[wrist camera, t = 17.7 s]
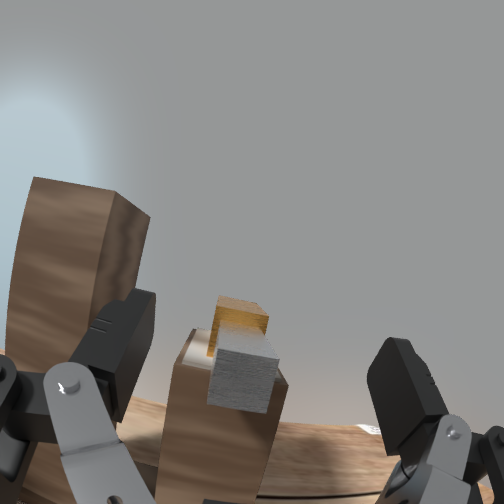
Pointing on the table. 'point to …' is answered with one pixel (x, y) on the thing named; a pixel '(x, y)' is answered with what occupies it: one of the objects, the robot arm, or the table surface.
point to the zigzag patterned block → (78, 322)
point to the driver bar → (240, 357)
